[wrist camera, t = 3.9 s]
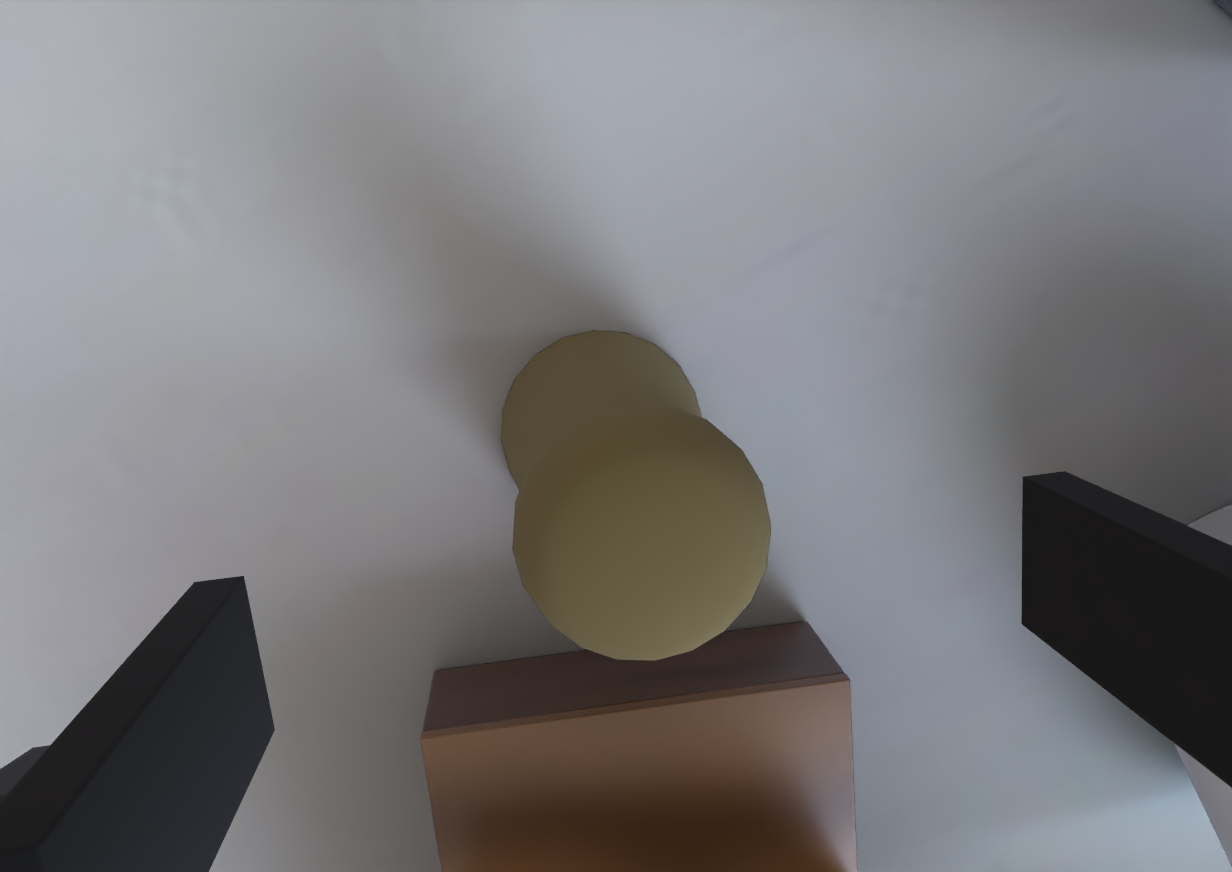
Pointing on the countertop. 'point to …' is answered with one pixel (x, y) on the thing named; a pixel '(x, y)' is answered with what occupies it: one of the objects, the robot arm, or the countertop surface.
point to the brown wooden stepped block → (647, 760)
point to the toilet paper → (1220, 801)
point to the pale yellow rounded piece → (629, 500)
